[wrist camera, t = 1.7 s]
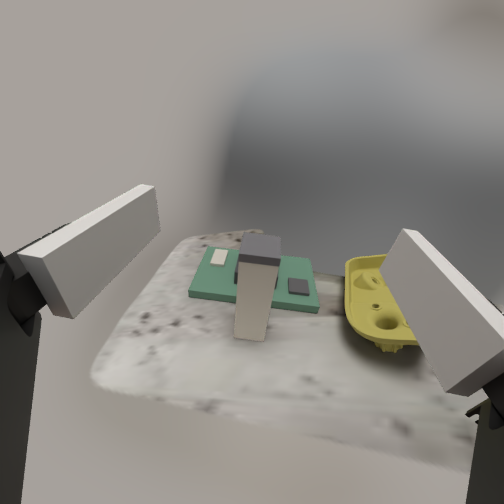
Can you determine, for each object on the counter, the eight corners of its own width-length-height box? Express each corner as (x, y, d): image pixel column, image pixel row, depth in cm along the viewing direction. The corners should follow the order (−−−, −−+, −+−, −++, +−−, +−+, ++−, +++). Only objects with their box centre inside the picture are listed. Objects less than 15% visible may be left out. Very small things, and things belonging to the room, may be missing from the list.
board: (308, 264, 44) (313, 248, 42) (317, 313, 34) (324, 295, 32) (208, 252, 44) (207, 235, 42) (189, 296, 35) (186, 277, 32)
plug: (265, 317, 33) (280, 236, 25) (263, 342, 29) (281, 258, 21) (237, 313, 33) (243, 232, 25) (233, 338, 30) (238, 253, 21)
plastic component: (345, 258, 43) (407, 252, 38) (350, 289, 46) (409, 287, 41) (343, 337, 27) (450, 342, 22) (352, 378, 29) (449, 390, 25)
